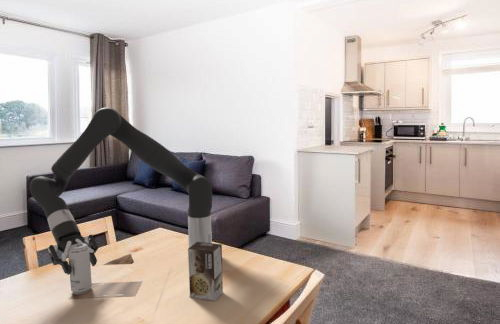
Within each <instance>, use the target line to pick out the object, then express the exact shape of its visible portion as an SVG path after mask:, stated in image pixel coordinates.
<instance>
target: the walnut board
mask: <svg viewBox="0 0 500 324" xmlns="http://www.w3.org/2000/svg"><path fill="white" fill-rule="evenodd" d="M142 283H143V280H141V281H138V280H137V281H117V282H112V281H111V282H95V283H94V282H93V283H92V287H91V288H90V290H89V291H88V292H86V293H84V294H74V293H73V292H72V294H71V296H70V297H68V300H83V299H85V300H86V299H103V298H105V299H106V298H125V297H136V295H137V294H138V291H139V290H140V287H141V286H142Z"/></svg>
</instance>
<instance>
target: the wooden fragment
mask: <svg viewBox="0 0 500 324" xmlns="http://www.w3.org/2000/svg"><path fill="white" fill-rule="evenodd" d="M132 263H134V259H133V257H132V254H131V253H128V254H126V255H123V256H121V257H118V258H116V259H113V260H110V261H108V262H106V263H104V264H102V266H112V265H114V266H115V265H131V264H132Z"/></svg>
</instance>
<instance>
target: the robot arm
mask: <svg viewBox="0 0 500 324" xmlns="http://www.w3.org/2000/svg"><path fill="white" fill-rule="evenodd" d="M109 136H111V137H113V138H115V139H117V140H118V141H120V142H121V143H122V144H124V145H125V146H126V147H127V148H128V149H129V150H130V151H131V152H132V153H133V154H134V155H135V157H137V158H138V159H139V160H141V161H142V162H143V163H145V165H147V166H149V167H150V168H152V169H153V170H154V171H156V172H158V173H160V174H162V175H164V176H166V177H167V178H169V179H172V180H173V181H175V182H176V183H177V184H178V185H180V186H181V188H183V190H185V191H186V192H187V194H188V208H187V227H188V228H187V229H188V248H190V247H191V246H192V245H193V244H195V243H196V242H204V243H213V241H212V239H213V238H212V237H213V236H212V234H213V233H212V209H213V186H212V183H211V181H210V180H209V179H208V178H207V177H206V176H203V175H202V174H199V173H198V172H197V171H194V170H193V169H192V168H189V167H187V165H185V164H184V163H183V162H182V161H180V159H179V158H177V157H176V155H175V154H173V153H172V151H170V150H169V149H168V148H167V147H165V146H164V145H163V144H161V143H159V141H157V140H156V139H154V138H152V137H151V136H149V135H147V134H146V133H144V132H142V131H141V130H139V129H137V128H136V127H135V126H133V124H131V123H130V122H129V121H128V120H127V119H125V118H124V117H123V116H122V115H121V114H120V113H119V111H117V110H116V109H114V108H112V107H107V106H105V107H102V108H99V109H98V110H96V111H95V113H94V114H93V116H92V119H91V120H90V121H89V123H88V125H87V126H86V128H85V129H84V131H83V132H82V133H81V134H80V136H78V138H77V139H76V140H75V141H74V142H73V143H72V144H70V146H69V147H68V148H67V149H65V151H64V152H63V153H62V154H61V155H60V156H59V157H58V159H57V160H56V161H55V162H54V163H53V164H52V166H51V168H50V169H51V171H52V173H53V174H54V176H53V178H50V177H47V176H42V175H41V176H36V177H34V178H33V179H32V180H31V181H30V183H29V192H30V195H31V196H32V198H33V199H34V200H35V202H36V203H37V205H38V206H40V208H41V209H42V210H43V213H44V215H45V217H46V220H47V223H48V227H49V230H50V231H51V234H52V236H53V239H54V241H55V243H56V244H55V245H53V244H51V245H48V249H47V254H48V256H49V258H50V260H51V262H52V263H51V264H52V265H53V266H57V265H59V266H61V268H62V271H63V274H66V275H67V276H68V275H69V276H70V273H71V268H70V266H69V260H67V257H68V252H69V250H70V246H71V245H74V244H78V243H85V242H86V244H87V247H88V248H89V253H90V265H91V266H92V267H95V266H96V265H97V262H98V259H97V256H96V255H95V254H96V253H97V251H98V250H99V245H97V241H96V240H95V237H94V235H93V234H89V235H88V236H85V237H84V236H83V235H82V233H81V230H80V228H79V226H78V224H77V222H76V221H75V218H74V216H73V214H72V213H71V211H70V209H69V207H68V204H67V203H66V201H65V200H64V199H63V198H62V197H60V196H62V194H63V193H64V192H65V189H66V187H67V185H68V184H69V181H70V179H71V177H72V176H73V175H74V174H75V173H76V171H77V170H78V169H80V168H81V166H82V165H83V164H84V163H85V161H86V160H87V159H88V158H89V156H90V155H91V153H92V152H93V151H94V150H95V149H96V147H98V146H99V144H100V143H102V142H103V141H104V140H105V139H106V138H107V137H109ZM57 251H60V252H62V254H61V257H60V258H59V256H58V253H57Z"/></svg>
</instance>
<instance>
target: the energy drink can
mask: <svg viewBox="0 0 500 324" xmlns="http://www.w3.org/2000/svg"><path fill="white" fill-rule="evenodd" d="M87 245H88V243H87V242H86V243H85V242H84V243H78V244H74V245H71V246H70V250H69V252H68V255H67V257H68V264H69V266H70V268H71V273H70V274H69V281H70V291H71V292H72V294H73V293H74V294H84V293H86V292H88V291H89V290H90V288H91V287H92V270H91V269H92V268H91V262H90V253H89V248H90V247H89V248H88V247H87Z"/></svg>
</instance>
